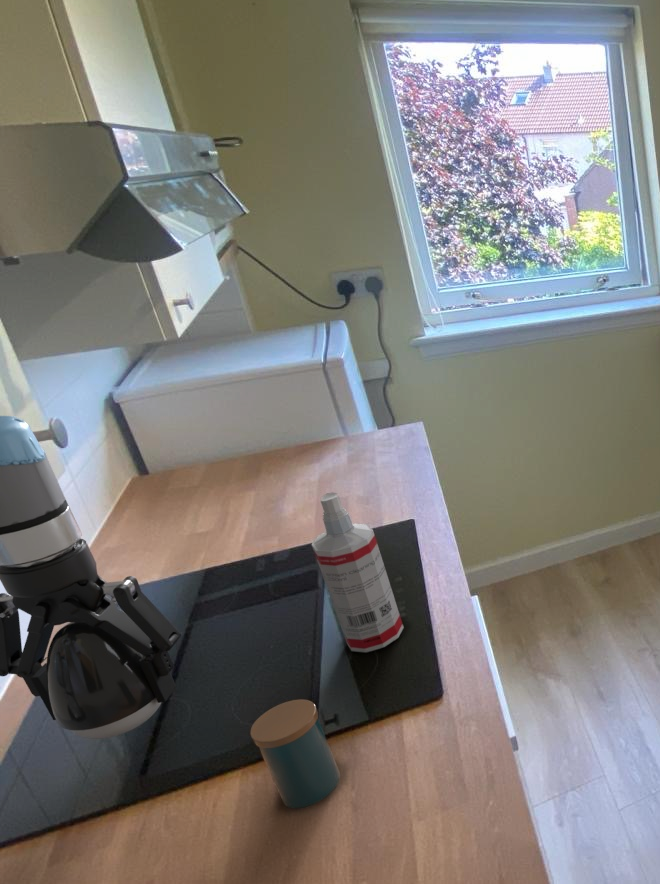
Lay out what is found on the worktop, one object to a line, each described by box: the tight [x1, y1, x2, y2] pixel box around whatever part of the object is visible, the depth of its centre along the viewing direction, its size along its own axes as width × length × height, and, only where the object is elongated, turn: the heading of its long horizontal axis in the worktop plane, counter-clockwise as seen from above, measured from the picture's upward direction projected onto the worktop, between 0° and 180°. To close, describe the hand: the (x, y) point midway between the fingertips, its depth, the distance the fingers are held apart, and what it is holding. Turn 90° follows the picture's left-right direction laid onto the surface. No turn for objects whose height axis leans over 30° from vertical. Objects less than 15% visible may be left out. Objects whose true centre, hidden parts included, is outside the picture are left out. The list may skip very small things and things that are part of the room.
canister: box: [249, 698, 341, 809], centre depth 86 cm, size 6×6×11 cm
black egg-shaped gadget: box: [46, 607, 162, 740], centre depth 89 cm, size 10×10×15 cm
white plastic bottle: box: [311, 491, 405, 653], centre depth 109 cm, size 8×8×25 cm
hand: (116, 703), depth 91 cm, fingers closed on black egg-shaped gadget, 10 cm apart
